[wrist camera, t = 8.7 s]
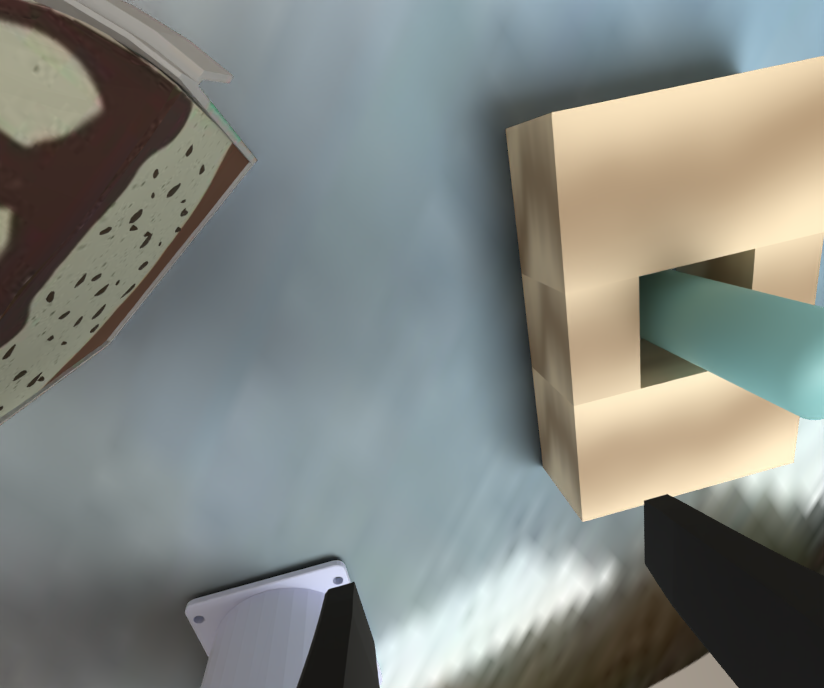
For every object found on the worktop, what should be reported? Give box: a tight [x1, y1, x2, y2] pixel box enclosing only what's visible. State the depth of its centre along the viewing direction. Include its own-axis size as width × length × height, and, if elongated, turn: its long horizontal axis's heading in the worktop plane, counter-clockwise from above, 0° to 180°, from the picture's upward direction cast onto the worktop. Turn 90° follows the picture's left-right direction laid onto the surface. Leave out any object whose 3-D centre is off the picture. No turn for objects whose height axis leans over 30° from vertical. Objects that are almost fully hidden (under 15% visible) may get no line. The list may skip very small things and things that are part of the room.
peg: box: [639, 269, 824, 420], centre depth 16 cm, size 3×3×9 cm
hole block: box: [506, 56, 824, 522], centre depth 18 cm, size 16×10×4 cm, turn 11°
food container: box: [0, 0, 257, 425], centre depth 11 cm, size 12×6×10 cm, turn 137°
